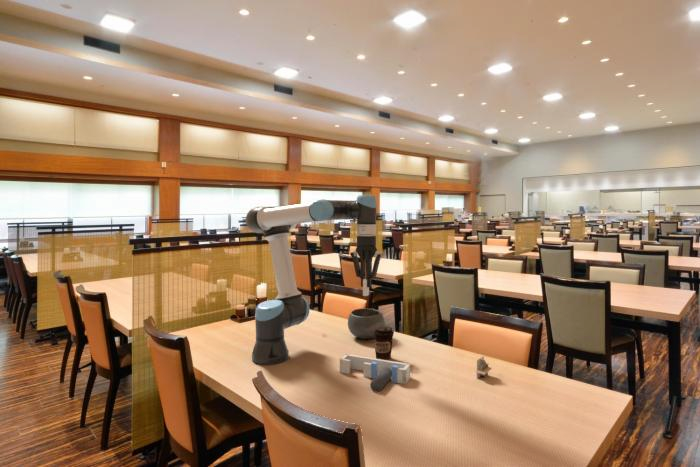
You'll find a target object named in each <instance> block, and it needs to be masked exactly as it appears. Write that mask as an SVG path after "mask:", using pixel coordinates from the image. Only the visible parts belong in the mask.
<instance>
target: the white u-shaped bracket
mask: <svg viewBox="0 0 700 467" xmlns="http://www.w3.org/2000/svg"><path fill="white" fill-rule="evenodd" d="M384 368H389V369H391V371H392V377H391V383H397V384H404V385H407V382H408V381H409V380H410V378H411V364H410V363H405V362H400V361H393V360H381V359H376V357H375V358H374V357H367V356H361V355H357V354H356V355H355V354H349V353H345V354H344V355H343V356H342V357H341V358H340V359H339V372H340V373H343V374H348V375H350V374H351V370H359V371H363V377H364V378H369V379H370V378H371V379H373V380H374V378H375V377H376V376H377V375H378V374H379V373H380V372H381V371H382V370H383V369H384Z"/></svg>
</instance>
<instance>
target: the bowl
mask: <svg viewBox="0 0 700 467" xmlns="http://www.w3.org/2000/svg"><path fill="white" fill-rule="evenodd" d="M385 322H386V321H385V318H384V315H383V313H382V311H381V310H378V309H374V308H368V307H367V308H365V307H364V308H357V309H354V310H352V311H351V312H349V315H348V317H347V329H348V330H349V332H350V333H351V334H352V335H353V336H354V337H356V338H358V339H361V340H362V339H363V340H370V339H374V331H375V328H376V327H382V326H386V324H385Z"/></svg>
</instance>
